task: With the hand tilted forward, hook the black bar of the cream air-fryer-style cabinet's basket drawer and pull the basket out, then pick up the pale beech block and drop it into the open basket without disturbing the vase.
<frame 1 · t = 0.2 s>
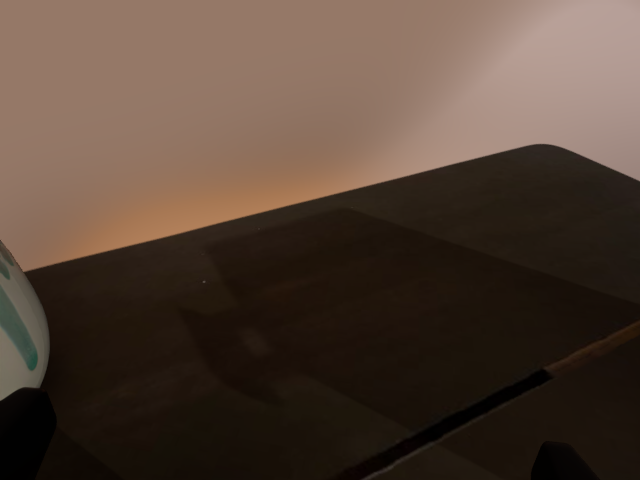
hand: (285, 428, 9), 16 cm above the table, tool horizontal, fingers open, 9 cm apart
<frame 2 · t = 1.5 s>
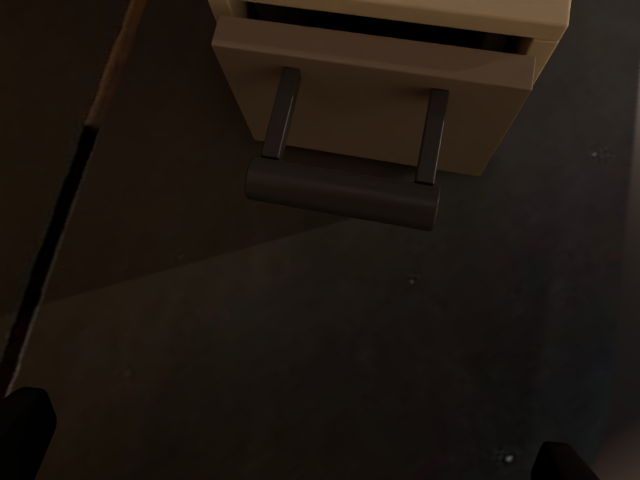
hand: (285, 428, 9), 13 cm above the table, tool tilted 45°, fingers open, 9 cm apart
fryer: (394, 12, 26), on the table
basket: (382, 33, 21), point 5 cm above the table, slide at 0.5 cm
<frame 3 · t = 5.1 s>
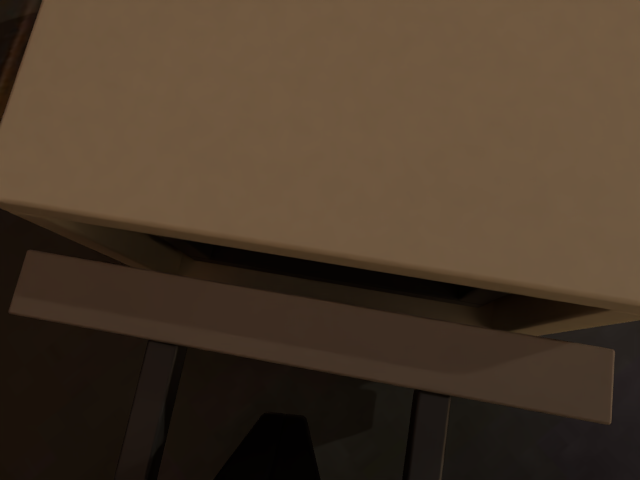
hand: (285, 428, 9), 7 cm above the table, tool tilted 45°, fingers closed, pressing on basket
fryer: (362, 122, 19), on the table
basket: (336, 209, 13), point 5 cm above the table, slide at 0.6 cm, touching gripper
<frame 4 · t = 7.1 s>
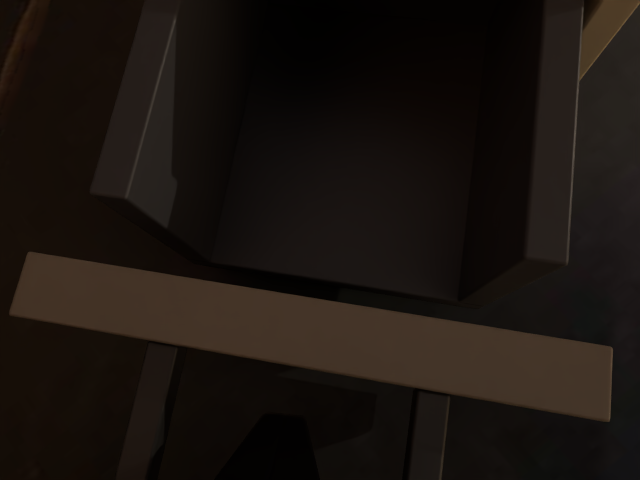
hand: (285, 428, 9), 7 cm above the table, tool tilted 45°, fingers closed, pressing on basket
basket: (335, 211, 13), point 5 cm above the table, slide at 7.2 cm, touching gripper
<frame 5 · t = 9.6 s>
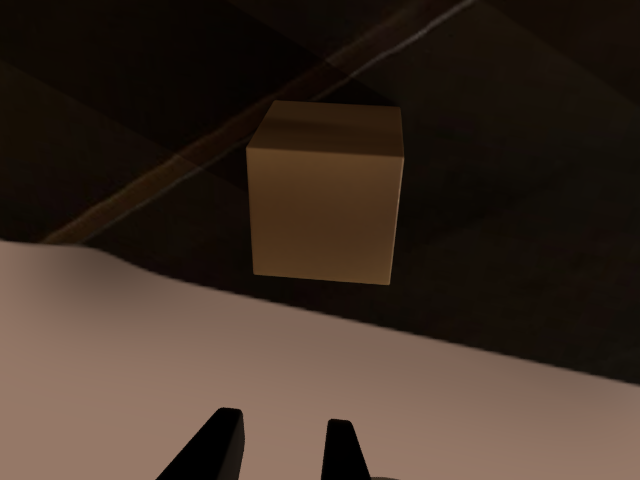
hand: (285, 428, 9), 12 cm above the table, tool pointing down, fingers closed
block: (334, 161, 20), on the table
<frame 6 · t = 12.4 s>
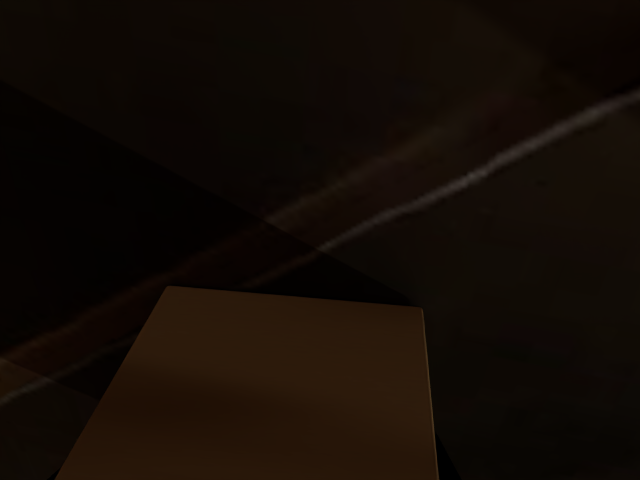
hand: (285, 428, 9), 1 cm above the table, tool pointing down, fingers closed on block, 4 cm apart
block: (292, 384, 10), on the table, touching gripper
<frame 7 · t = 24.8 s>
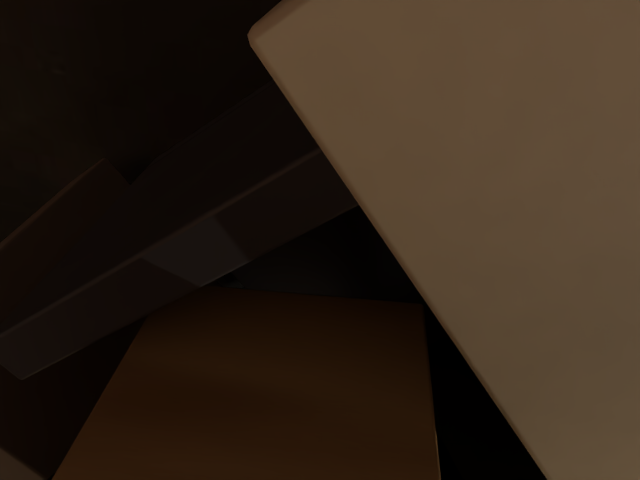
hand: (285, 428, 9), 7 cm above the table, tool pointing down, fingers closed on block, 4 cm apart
block: (293, 381, 10), point 6 cm above the table, touching gripper
basket: (278, 348, 12), point 5 cm above the table, slide at 7.6 cm
when the fingers open (10 cm above the table, at t = 30.7 s): block drops 7 cm, resting on basket.
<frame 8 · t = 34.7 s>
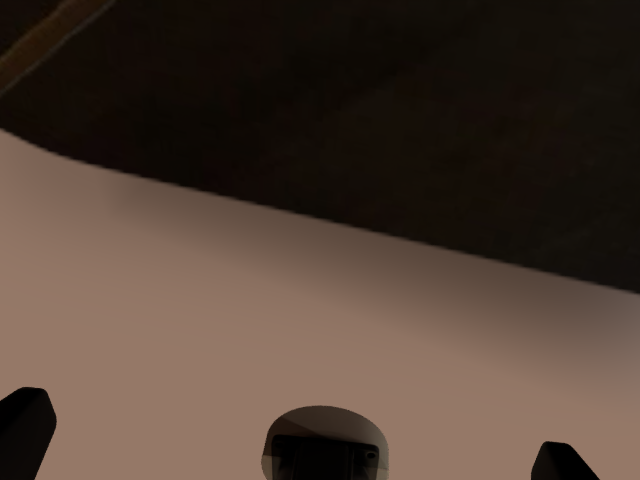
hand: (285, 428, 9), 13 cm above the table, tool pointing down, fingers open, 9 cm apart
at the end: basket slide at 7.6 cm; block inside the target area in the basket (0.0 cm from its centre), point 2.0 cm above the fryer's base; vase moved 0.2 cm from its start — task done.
